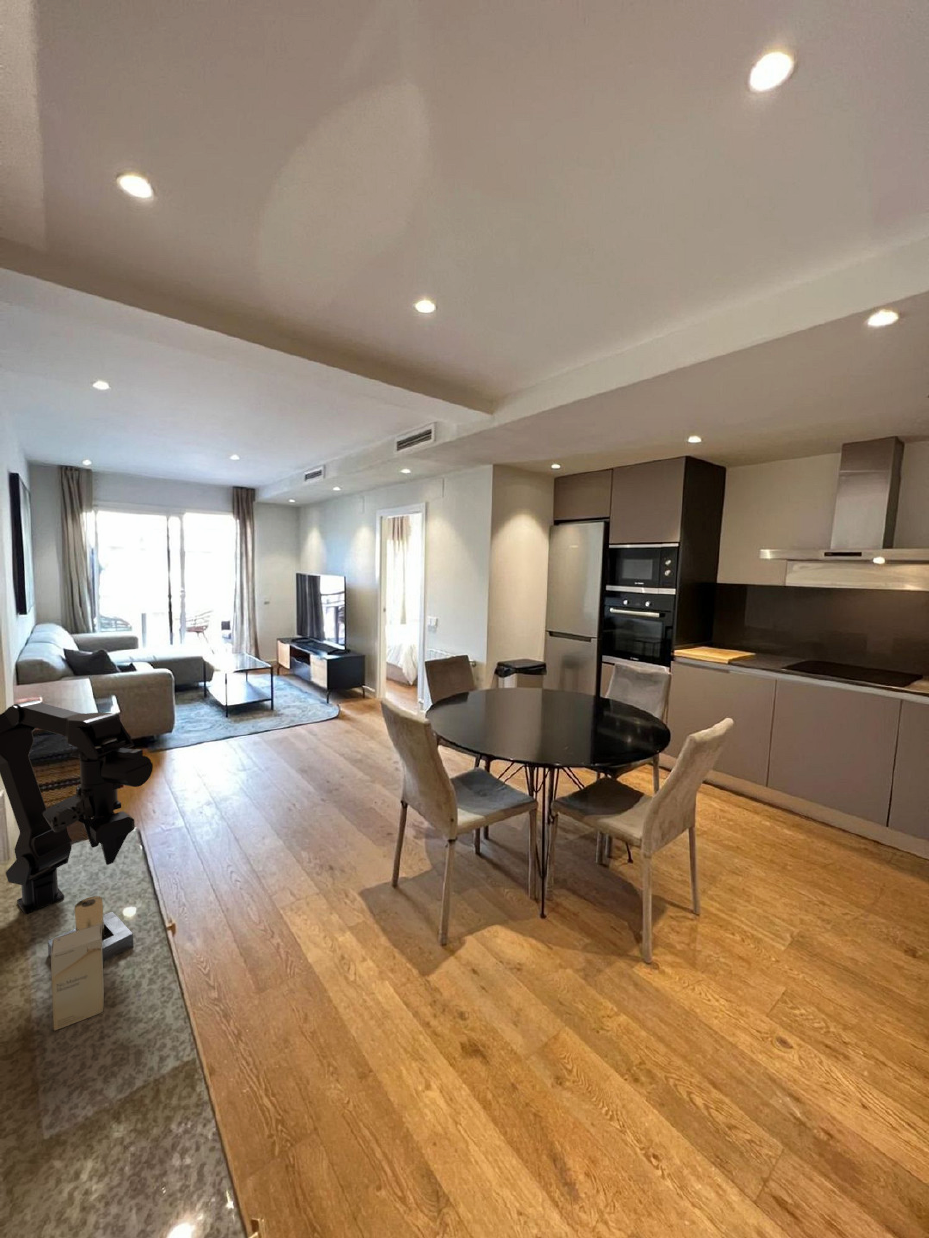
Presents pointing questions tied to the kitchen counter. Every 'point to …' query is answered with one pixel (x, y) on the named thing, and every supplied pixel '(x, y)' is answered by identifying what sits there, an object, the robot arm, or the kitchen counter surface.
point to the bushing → (89, 913)
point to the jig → (110, 937)
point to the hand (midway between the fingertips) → (102, 854)
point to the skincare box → (77, 976)
